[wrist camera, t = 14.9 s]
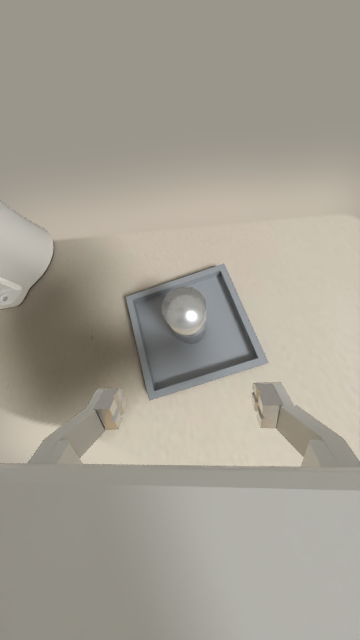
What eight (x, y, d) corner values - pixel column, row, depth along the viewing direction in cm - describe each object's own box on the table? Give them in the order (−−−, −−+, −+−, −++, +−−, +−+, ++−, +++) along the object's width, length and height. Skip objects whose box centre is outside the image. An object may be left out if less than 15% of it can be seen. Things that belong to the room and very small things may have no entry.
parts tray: (153, 398, 23) (149, 400, 21) (130, 301, 27) (125, 296, 26) (263, 363, 23) (268, 362, 21) (222, 270, 27) (224, 263, 25)
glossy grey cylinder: (180, 348, 24) (168, 334, 16) (171, 319, 25) (156, 294, 18) (210, 338, 24) (212, 319, 16) (200, 310, 25) (197, 280, 17)
